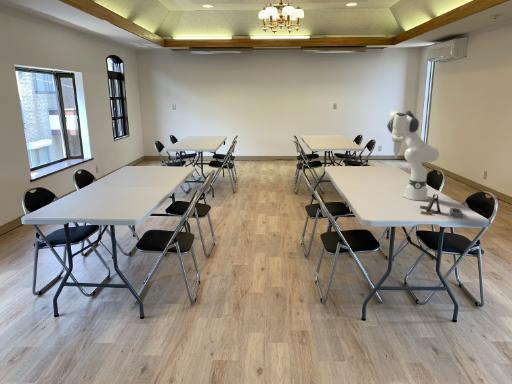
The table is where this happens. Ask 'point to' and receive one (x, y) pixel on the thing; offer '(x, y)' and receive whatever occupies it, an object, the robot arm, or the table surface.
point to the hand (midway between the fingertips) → (395, 157)
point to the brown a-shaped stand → (432, 204)
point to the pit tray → (456, 213)
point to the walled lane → (424, 211)
